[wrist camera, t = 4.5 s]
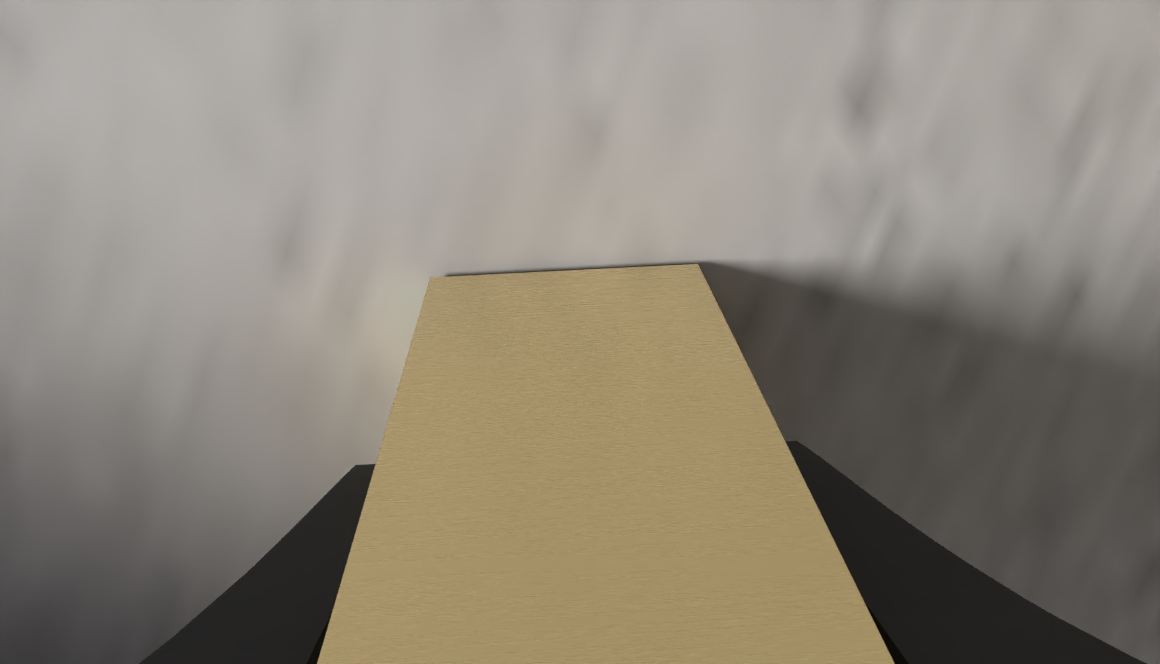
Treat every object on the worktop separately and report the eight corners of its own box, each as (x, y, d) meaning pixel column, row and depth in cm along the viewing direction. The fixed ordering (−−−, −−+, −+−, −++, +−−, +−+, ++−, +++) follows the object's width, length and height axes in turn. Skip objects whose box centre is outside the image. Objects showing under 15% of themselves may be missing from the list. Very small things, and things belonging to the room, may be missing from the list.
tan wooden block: (458, 558, 13) (387, 1161, 7) (430, 277, 12) (304, 709, 5) (695, 544, 13) (850, 1128, 7) (697, 264, 12) (897, 673, 5)
